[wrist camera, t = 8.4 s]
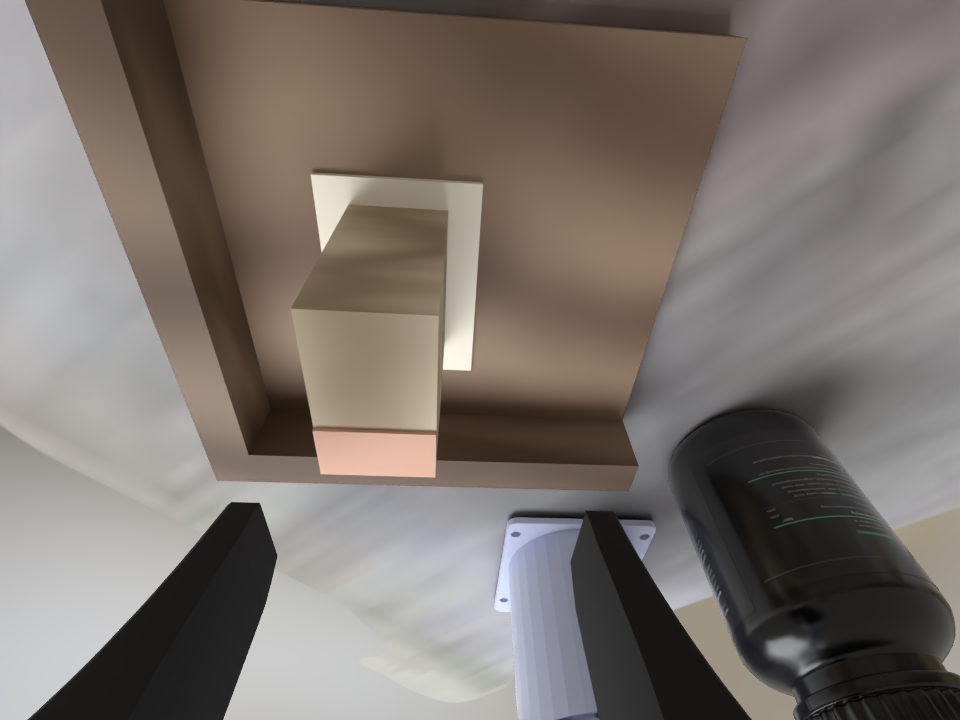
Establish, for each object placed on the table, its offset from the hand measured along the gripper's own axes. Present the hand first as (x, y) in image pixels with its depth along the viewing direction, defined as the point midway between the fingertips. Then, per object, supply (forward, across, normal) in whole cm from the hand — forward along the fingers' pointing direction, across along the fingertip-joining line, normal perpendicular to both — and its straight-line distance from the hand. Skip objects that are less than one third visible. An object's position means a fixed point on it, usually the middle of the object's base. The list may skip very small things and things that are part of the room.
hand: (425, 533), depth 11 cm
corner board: (+9, 0, -2) cm, 10 cm away
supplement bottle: (+10, -14, +7) cm, 19 cm away
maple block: (+8, +1, -2) cm, 8 cm away
